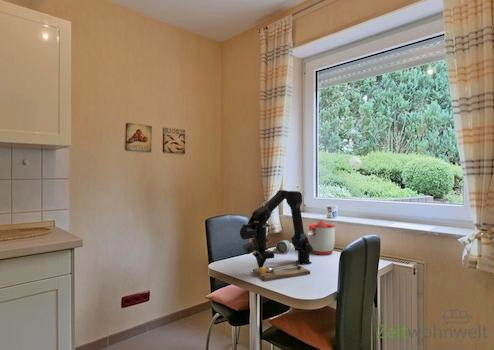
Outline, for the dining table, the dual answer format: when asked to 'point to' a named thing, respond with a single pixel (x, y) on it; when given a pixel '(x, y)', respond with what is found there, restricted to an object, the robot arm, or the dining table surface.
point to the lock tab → (262, 270)
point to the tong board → (282, 272)
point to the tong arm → (278, 268)
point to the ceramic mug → (282, 246)
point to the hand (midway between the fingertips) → (260, 269)
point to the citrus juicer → (322, 237)
